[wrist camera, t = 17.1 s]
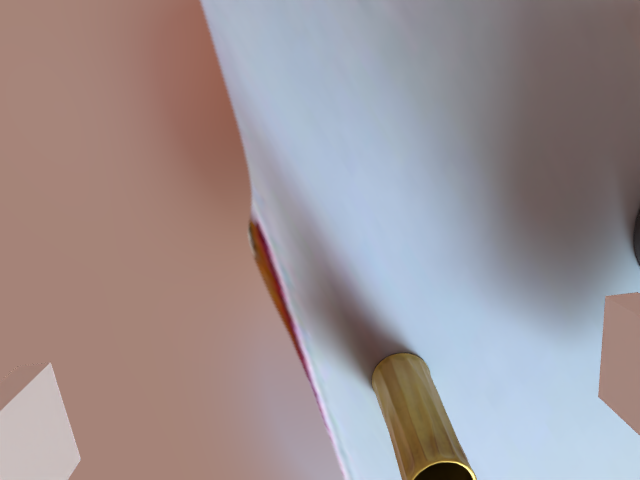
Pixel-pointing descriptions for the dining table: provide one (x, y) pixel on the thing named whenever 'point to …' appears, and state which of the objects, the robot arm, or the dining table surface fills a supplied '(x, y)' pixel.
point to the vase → (418, 421)
